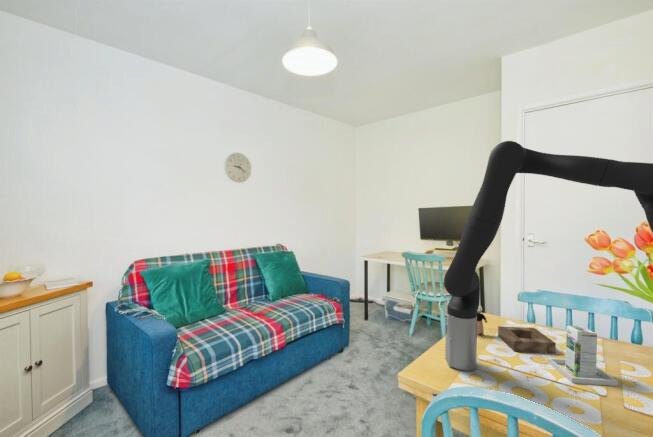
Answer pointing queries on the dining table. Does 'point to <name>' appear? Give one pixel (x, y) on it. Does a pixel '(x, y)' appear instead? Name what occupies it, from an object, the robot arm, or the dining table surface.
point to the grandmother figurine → (480, 322)
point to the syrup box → (581, 351)
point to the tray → (606, 381)
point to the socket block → (526, 340)
